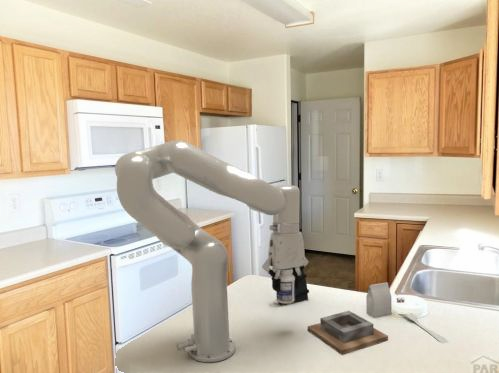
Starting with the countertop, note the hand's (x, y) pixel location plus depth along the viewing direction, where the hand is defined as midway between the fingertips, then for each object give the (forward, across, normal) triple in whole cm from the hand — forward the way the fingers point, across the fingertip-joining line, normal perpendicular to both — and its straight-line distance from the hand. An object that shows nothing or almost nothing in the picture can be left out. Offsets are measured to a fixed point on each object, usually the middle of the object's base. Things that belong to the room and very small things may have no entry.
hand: (285, 288), depth 116 cm
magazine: (+13, +14, +19) cm, 27 cm away
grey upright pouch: (+12, +32, -4) cm, 35 cm away
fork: (+12, +37, -17) cm, 42 cm away
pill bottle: (+4, 0, 0) cm, 4 cm away
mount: (+13, +14, -10) cm, 22 cm away
